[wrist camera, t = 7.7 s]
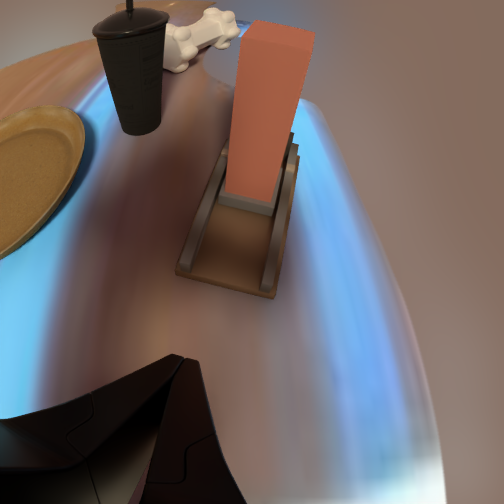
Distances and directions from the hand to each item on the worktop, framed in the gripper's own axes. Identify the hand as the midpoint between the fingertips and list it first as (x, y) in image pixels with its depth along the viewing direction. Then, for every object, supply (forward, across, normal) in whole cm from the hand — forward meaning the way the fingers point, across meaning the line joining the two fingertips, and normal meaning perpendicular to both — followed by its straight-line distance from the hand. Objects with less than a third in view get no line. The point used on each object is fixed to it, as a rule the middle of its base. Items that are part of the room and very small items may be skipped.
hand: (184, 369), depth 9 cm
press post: (+21, 0, -4) cm, 22 cm away
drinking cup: (+28, +16, -10) cm, 33 cm away
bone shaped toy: (+42, +16, -24) cm, 51 cm away
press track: (+21, +1, -3) cm, 21 cm away
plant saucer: (+18, +29, 0) cm, 34 cm away
